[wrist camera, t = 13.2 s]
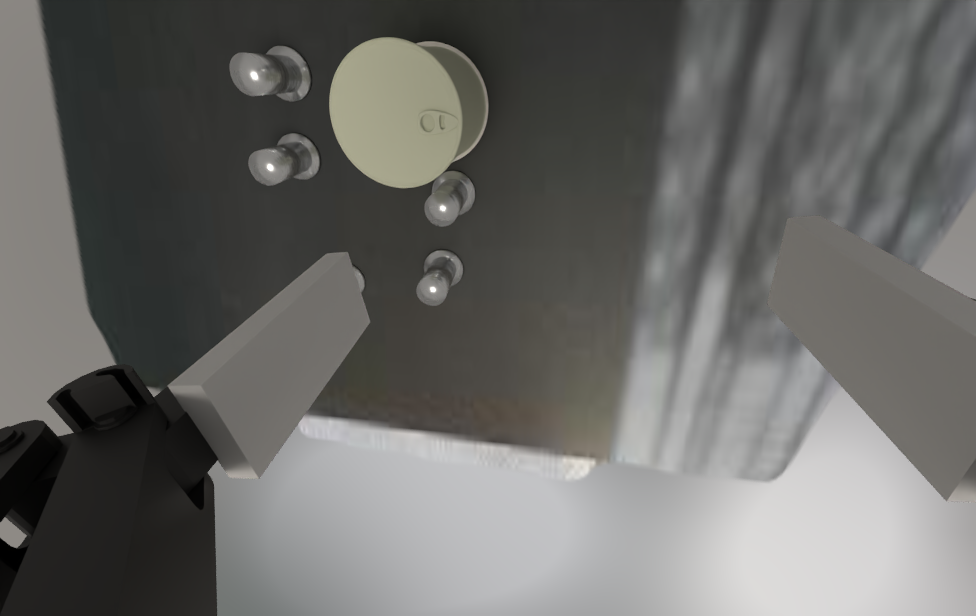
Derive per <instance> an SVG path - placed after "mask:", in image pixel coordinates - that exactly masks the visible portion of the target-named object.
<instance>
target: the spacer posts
mask: <svg viewBox="0 0 976 616" xmlns="http://www.w3.org/2000/svg"><path fill="white" fill-rule="evenodd" d="M230 74H231V78H232V80H233V82H234V84H235V85H236V86H237V87H238V89H239V90H241V91H242V92H243V93H245V94H247V95H250V96H259V95H271V94H276V95H278V96H279V97H280V98H282V99H284V100H287V101H299V100H301V99H303V98H305V97H306V96H307V95H308V93H309V91H310V89H311V84H312V76H311V72H310V68H309V66H308V64H307V62H306V61H305V59H304V58H303V56H302V55H301V54H300V53H298V52H297V51H296V50H294V49H292V48H290V47H286V46H276V47H273V48H271V49H270V50H269V51H268V52H267V54H256V53H238V54H236V55H234V56H233V58H232V59H231V62H230ZM248 163H249V169H250V171H251V173H252V175H253V176H254V178H255V179H256V180H257V181H259V182H260V183H262V184H264V185H268V186H271V185H275V184H277V183H280V182H282V181H285V180H287V179H289V178H292V177H295V178H298V179H309V178H311V177H313V176H315V175H316V174H317V173H318V171H319V169H320V166H321V158H320V154H319V151H318V149H317V147H316V146H315V144H314V143H313V142H312V141H311V140H310V139H309V138H307V137H306V136H304V135H302V134H298V133H291V134H287V135H285V136H283V137H282V138H281V139H280V140H279V142H278V145H277V146H273V147H270V148H266V149H262V150H259V151H255V152H253V153H252V154H251V155H250V157H249V162H248ZM474 200H475V187H474V185H473V183H472V181H471V180H470V178H469V177H468V176H467V175H465V174H464V173H462V172H459V171H453V170H452V171H446V172H444V173H442V174H441V175H440V176H438V177H437V179H436V180H435V182H434V184H433V187H432V195H431V196H430V197H429V198H428V199H427V200H426V203H425V207H424V209H425V214H426V216H427V218H428V219H429V221H430V222H432V223H433V224H435V225H437V226H448V225H450V224H452V223H453V222H454V221H455V219H456V218H457V216H458V215H461V214H463V213H465V212H467V211H468V210H469V209H470V208H471V207H472V205H473V203H474ZM352 267H353V270H354V273H355V276H356V279H357V282H358V285H359V289H360V292H362V291H363V290H364V288H365V278H364V275H363V273H362V272H361V271H360V270H359V269H358V268H357V267H356V266H354V265H352ZM424 270H425V274H424V276H423V277H422V279H421V281H420V282H419V284H418V286H417V290H416V291H417V296H418V298H419V299H420V300H421V301H422V302H423V303H425V304H427V305H431V306H435V305H439V304H441V303H442V302H443V301H444V300H445V297H446V295H447V293H448V291H449V289H450V286H453V285H455V284H456V283H458V282H459V280H460V279H461V277H462V275H463V264H462V261H461V260H460V258H459V257H458V256H457V255H456V254H455V253H453V252H451V251H449V250H444V249H440V250H436V251H433V252H432V253H430V254H429V255H428V257H427V258H426V260H425V263H424Z"/></svg>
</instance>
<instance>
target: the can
mask: <svg viewBox="0 0 976 616" xmlns="http://www.w3.org/2000/svg"><path fill="white" fill-rule="evenodd" d="M329 107H330V117H331V122H332V126H333V129H334V132H335V135H336V138H337V140H338V142H339V144H340V146H341V148H342V150H343V151H344V153H345V154H346V156H347V157H348V158H349V159H350V161H351V162H352V163H353V164H354V165H355V166H356V167H357V168H358V169H359V170H360V171H361V172H362V173H364V174H365V175H367V176H368V177H370V178H371V179H373V180H375V181H377V182H379V183H382V184H384V185H387V186H391V187H397V188H412V187H417V186H421V185H424V184H427V183H429V182H431V181H433V180H434V179H436V178H437V177H438V176H440V175H441V174H442V173H443V172H444V171H445V170H446V169H447V168H448V167H449V165H450V164H451V162H452V161H453V160H454V159H455V158H456V157H457V156H459V155H461V154H463V153H464V152H465V151H467V150H468V149H469V148H470V147H471V146H472V145H473V144H474V142H475V141H476V140H477V138H478V136H479V135H480V132H481V130H482V128H483V124H484V120H485V114H486V101H485V94H484V90H483V87H482V84H481V82H480V79H479V77H478V75H477V74H476V72H475V70H474V69H473V68H472V66H471V65H470V64H469V63H468V62H467V61H466V60H465V59H464V58H463V57H461V56H460V55H458V54H457V53H455V52H453V51H451V50H449V49H446V48H443V47H437V46H427V47H425V46H421V45H417V44H415V43H413V42H410V41H408V40H404V39H399V38H393V37H382V38H376V39H372V40H369V41H366V42H364V43H362V44H360V45H359V46H357V47H356V48H354V49H353V50H352V51H351V52H349V53H348V55H347V56H346V57H345V58H344V59H343V61H342V62H341V64H340V65H339V67H338V68H337V71H336V73H335V75H334V78H333V81H332V85H331V90H330V101H329Z"/></svg>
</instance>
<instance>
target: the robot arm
mask: <svg viewBox="0 0 976 616" xmlns="http://www.w3.org/2000/svg"><path fill="white" fill-rule="evenodd" d="M767 305H768V306H769V307H770V308H771V310H772V311H773V312H774V313H775V314H776V315H777V316H778V317H779V318H780V319H781V321H782V322H783V323H784V324H785V325H786V326H787V327H788V328H789V329H790V330H791V331H792V333H793V334H794V335H795V336H796V337H797V338H798V339H799V340H800V341H801V342H802V344H803V345H804V346H805V347H806V348H807V349H808V350H809V351H810V352H811V353H812V354H813V356H814V357H815V358H816V359H817V360H818V361H819V362H820V363H821V364H822V365H823V367H824V368H825V369H826V370H827V371H828V372H829V373H830V374H831V375H832V376H833V377H834V379H835V380H836V381H837V382H838V383H839V384H840V385H841V386H842V387H843V388H844V389H845V391H846V392H848V394H849V395H850V396H851V397H852V398H853V399H854V400H855V402H856V403H857V404H858V405H859V406H860V407H861V408H862V409H863V410H864V411H865V412H866V414H867V415H868V416H869V417H870V418H871V419H872V420H873V421H874V422H875V423H876V425H877V426H879V428H880V429H881V430H882V431H883V432H884V433H885V434H886V436H888V438H889V439H890V440H891V441H892V442H893V443H894V444H895V445H896V446H897V447H898V449H899V450H900V451H901V452H902V453H903V454H904V455H905V456H906V457H907V459H909V461H910V462H911V463H912V464H913V465H914V466H915V467H916V468H917V469H918V471H919V472H920V473H921V474H922V475H923V476H924V477H925V478H926V479H927V480H928V482H929V483H930V484H931V485H932V486H933V487H934V488H935V489H936V490H937V491H938V492H939V494H940V495H941V496H942V497H943V498H944V499H945V500H946V501H951V502H976V300H975V299H972V298H969V297H967V296H965V295H963V294H962V293H960V292H958V291H956V290H954V289H953V288H951V287H949V286H947V285H945V284H943V283H942V282H940V281H938V280H936V279H934V278H933V277H931V276H929V275H927V274H925V273H924V272H922V271H920V270H918V269H916V268H914V267H913V266H911V265H909V264H907V263H905V262H904V261H902V260H900V259H898V258H896V257H894V256H893V255H891V254H889V253H887V252H885V251H883V250H882V249H880V248H878V247H876V246H874V245H873V244H871V243H869V242H867V241H865V240H863V239H862V238H860V237H858V236H856V235H854V234H853V233H851V232H849V231H847V230H845V229H843V228H842V227H840V226H838V225H836V224H834V223H833V222H831V221H829V220H827V219H825V218H823V217H822V216H820V215H816V216H803V217H790V218H788V219H787V223H786V227H785V232H784V236H783V240H782V244H781V248H780V252H779V257H778V261H777V265H776V269H775V273H774V277H773V282H772V286H771V290H770V294H769V298H768V303H767ZM369 323H370V319H369V316H368V313H367V310H366V307H365V304H364V301H363V298H362V295H361V292H360V289H359V285H358V282H357V279H356V276H355V273H354V270H353V267H352V264H351V261H350V258H349V255H348V252H341V253H328V254H326V255H324V256H323V257H322V258H321V259H320V260H318V261H317V262H316V263H315V264H314V265H312V266H311V267H310V268H309V269H308V270H306V271H305V272H304V273H303V274H301V275H300V276H299V277H298V278H297V279H295V280H294V281H293V282H292V283H291V284H289V285H288V286H287V287H286V288H285V289H283V290H282V291H281V292H280V293H279V294H277V295H276V296H275V297H274V298H273V299H271V300H270V301H269V302H268V303H267V304H265V305H264V306H263V307H262V308H261V309H259V310H258V311H257V312H256V313H255V314H253V315H252V316H251V317H250V318H249V319H247V320H246V321H245V322H244V323H243V324H241V325H240V326H239V327H238V328H237V329H235V330H234V331H233V332H232V333H230V334H229V335H228V336H227V337H226V338H224V339H223V340H222V341H221V342H220V343H218V344H217V345H216V346H215V347H214V348H212V349H211V350H210V351H209V352H208V353H206V354H205V355H204V356H203V357H202V358H200V359H199V360H198V361H197V362H196V363H194V364H193V365H192V366H191V367H190V368H188V369H187V370H186V371H185V372H184V373H182V374H181V375H180V376H179V377H178V378H176V379H175V380H174V381H173V382H172V383H170V384H169V385H168V386H167V387H166V388H165V389H164V390H162V391H161V392H160V393H159V394H158V395H156V396H155V397H153V396H152V394H151V393H150V392H149V390H148V389H147V387H146V386H145V385H144V383H143V382H142V380H141V379H140V377H139V376H138V375H137V373H136V372H135V370H134V369H133V368H132V366H129V365H125V364H123V365H113V366H110V367H106V368H102V369H99V370H96V371H94V372H91V373H89V374H87V375H84V376H82V377H80V378H78V379H76V380H74V381H72V382H71V383H69V384H67V385H65V386H64V387H63V388H61V389H60V390H58V391H57V392H56V393H54V394H53V395H52V397H51V398H50V399H49V400H48V401H47V402H48V404H49V405H50V406H51V407H52V408H53V409H54V410H55V411H56V413H58V415H59V416H60V417H61V418H62V419H63V421H64V422H65V423H66V424H67V425H68V426H69V427H70V428H71V429H72V431H73V432H74V433H71V434H67V435H63V436H57V435H56V434H55V433H54V432H53V431H52V430H51V429H50V428H49V427H48V426H47V425H46V424H45V423H44V421H39V420H33V421H27V422H22V423H19V424H17V425H14V426H11V427H9V426H7V427H5V428H2V429H0V522H1V521H2V520H3V518H4V517H6V518H7V519H8V520H9V521H10V522H12V523H13V524H14V525H15V526H17V527H18V528H19V529H20V530H21V531H22V532H23V533H25V534H26V535H27V537H26V538H25V540H24V541H23V542H22V544H21V545H20V546H19V547H18V548H14V547H11V546H10V545H8V544H7V543H6V542H5V541H3V540H2V539H1V538H0V616H217V593H216V554H215V553H216V551H215V550H216V549H215V509H214V508H215V507H214V484H213V481H212V479H211V477H210V476H209V475H208V473H207V472H208V471H209V470H210V468H211V467H212V466H213V465H214V464H215V463H216V461H217V460H218V461H219V463H220V464H221V466H222V467H223V469H224V470H225V472H226V473H227V475H228V476H229V477H230V478H248V479H249V478H250V479H259V478H260V477H261V475H262V474H263V473H264V471H265V470H266V468H267V467H268V466H269V464H270V463H271V461H272V460H273V459H274V457H275V456H276V454H277V453H278V451H279V450H280V449H281V447H282V446H283V444H284V443H285V441H286V440H287V439H288V437H289V436H290V435H291V433H292V432H293V430H294V429H295V427H296V426H297V425H298V423H299V422H300V420H301V419H302V418H303V416H304V415H305V413H306V412H307V411H308V409H309V408H310V406H311V405H312V404H313V402H314V401H315V399H316V398H317V396H318V395H319V394H320V392H321V391H322V389H323V388H324V387H325V385H326V384H327V382H328V381H329V380H330V378H331V377H332V375H333V374H334V372H335V371H336V370H337V368H338V367H339V365H340V364H341V363H342V361H343V360H344V358H345V357H346V356H347V354H348V353H349V351H350V350H351V348H352V347H353V346H354V344H355V343H356V341H357V340H358V339H359V337H360V336H361V334H362V333H363V332H364V330H365V329H366V327H367V326H368V324H369Z"/></svg>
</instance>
